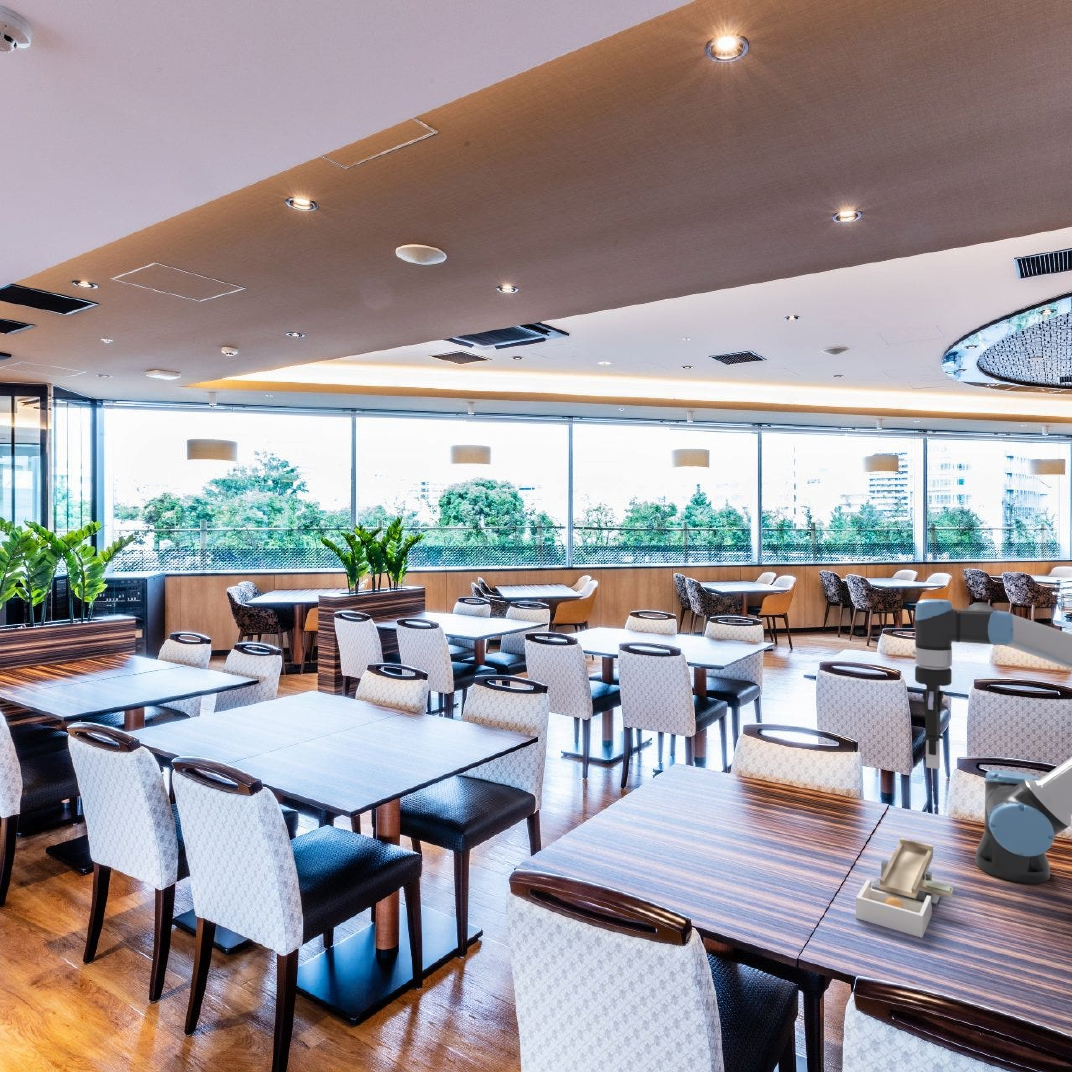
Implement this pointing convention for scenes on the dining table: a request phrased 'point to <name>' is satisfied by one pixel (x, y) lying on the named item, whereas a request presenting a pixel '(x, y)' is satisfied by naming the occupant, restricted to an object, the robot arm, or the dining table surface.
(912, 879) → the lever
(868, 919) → the dish
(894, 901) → the ball
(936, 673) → the robot arm
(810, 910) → the dining table surface
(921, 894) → the stand
